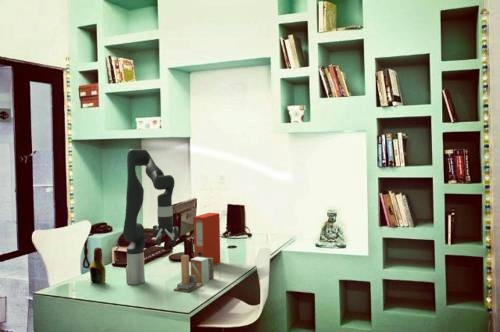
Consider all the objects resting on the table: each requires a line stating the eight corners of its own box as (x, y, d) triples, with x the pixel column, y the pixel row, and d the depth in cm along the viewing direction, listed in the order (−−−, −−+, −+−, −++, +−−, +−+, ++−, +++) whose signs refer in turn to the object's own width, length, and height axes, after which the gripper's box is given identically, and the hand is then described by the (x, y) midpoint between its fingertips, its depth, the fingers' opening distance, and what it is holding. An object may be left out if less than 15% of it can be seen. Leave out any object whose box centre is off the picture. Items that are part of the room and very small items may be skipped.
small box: (190, 281, 268) (190, 259, 267) (198, 278, 273) (197, 256, 273) (202, 284, 264) (201, 260, 263) (209, 281, 269) (208, 258, 268)
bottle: (109, 283, 270) (107, 248, 268) (99, 285, 265) (97, 250, 264) (97, 279, 278) (96, 245, 276) (87, 281, 273) (86, 247, 272)
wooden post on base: (177, 288, 253) (176, 256, 252) (185, 283, 261) (184, 252, 260) (188, 289, 251) (187, 257, 250) (196, 285, 258) (195, 254, 257)
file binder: (220, 262, 307) (219, 213, 305) (205, 269, 292) (203, 217, 290) (210, 261, 311) (208, 212, 309) (194, 268, 296) (193, 216, 294)
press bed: (173, 290, 253) (173, 268, 252) (198, 277, 277) (197, 256, 276) (190, 292, 249) (189, 270, 248) (213, 278, 273) (213, 258, 272)
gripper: (181, 214, 242) (182, 245, 244) (157, 212, 248) (158, 243, 249) (173, 216, 235) (174, 249, 237) (148, 215, 241) (150, 247, 242)
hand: (166, 246), depth 243 cm, fingers open, 8 cm apart
